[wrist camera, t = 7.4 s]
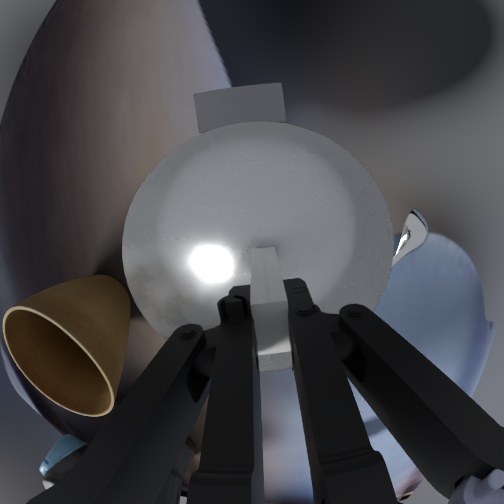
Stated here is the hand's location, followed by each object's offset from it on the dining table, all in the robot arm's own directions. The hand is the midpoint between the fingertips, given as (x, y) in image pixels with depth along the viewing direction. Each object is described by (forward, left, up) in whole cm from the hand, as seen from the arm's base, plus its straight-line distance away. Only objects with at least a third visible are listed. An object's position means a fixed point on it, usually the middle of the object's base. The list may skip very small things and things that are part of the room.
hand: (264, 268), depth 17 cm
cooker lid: (0, +1, -2) cm, 2 cm away
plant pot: (-22, -8, -15) cm, 28 cm away
